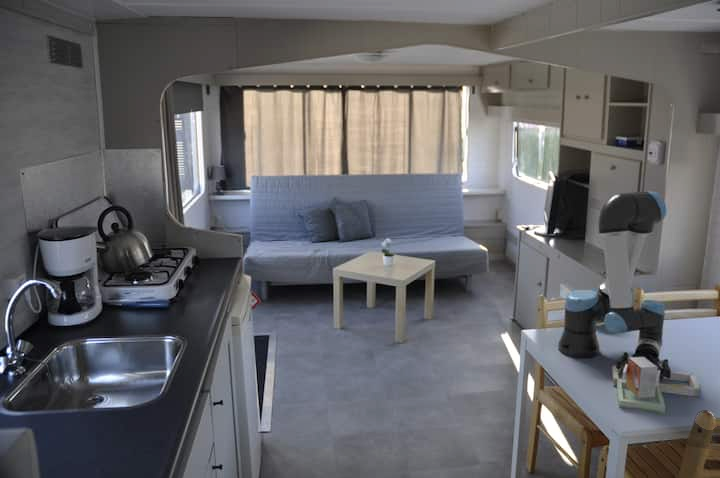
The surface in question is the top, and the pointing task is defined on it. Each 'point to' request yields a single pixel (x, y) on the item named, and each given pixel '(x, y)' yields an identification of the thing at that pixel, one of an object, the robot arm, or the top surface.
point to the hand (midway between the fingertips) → (640, 378)
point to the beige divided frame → (672, 388)
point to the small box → (641, 377)
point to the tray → (640, 399)
